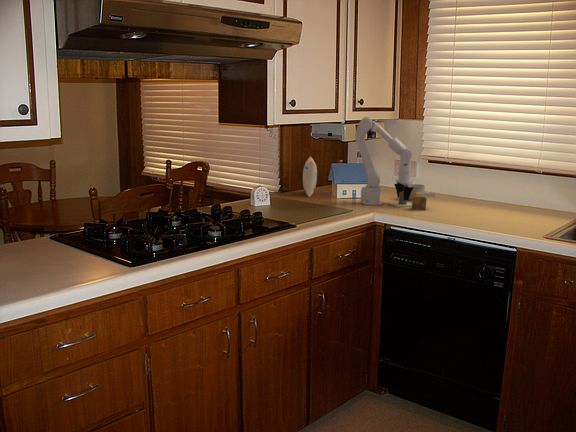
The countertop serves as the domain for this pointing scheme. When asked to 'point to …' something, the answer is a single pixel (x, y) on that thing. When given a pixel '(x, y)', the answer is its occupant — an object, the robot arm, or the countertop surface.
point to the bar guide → (419, 203)
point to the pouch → (309, 176)
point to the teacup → (416, 190)
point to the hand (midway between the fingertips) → (402, 198)
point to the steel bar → (424, 194)
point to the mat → (401, 205)
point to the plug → (402, 199)
